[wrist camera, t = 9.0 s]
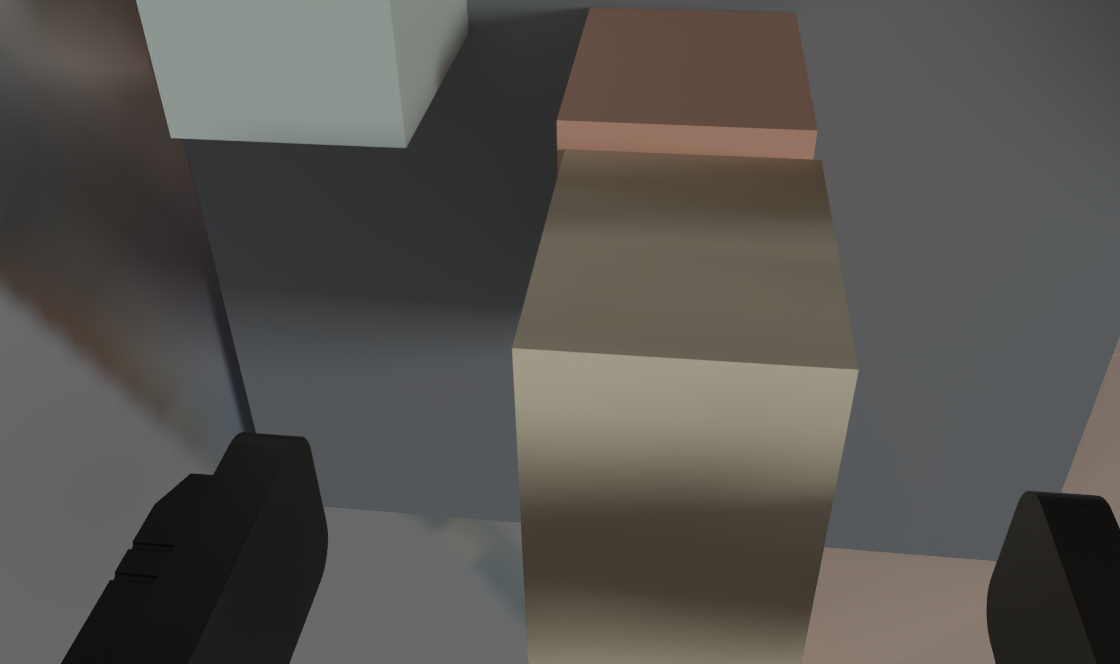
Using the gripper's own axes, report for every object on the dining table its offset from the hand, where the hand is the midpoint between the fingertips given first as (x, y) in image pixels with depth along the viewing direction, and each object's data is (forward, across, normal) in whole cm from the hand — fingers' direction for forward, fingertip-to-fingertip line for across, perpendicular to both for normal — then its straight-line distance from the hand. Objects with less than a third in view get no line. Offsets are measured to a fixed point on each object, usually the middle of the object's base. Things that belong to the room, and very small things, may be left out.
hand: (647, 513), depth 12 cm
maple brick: (+4, 0, +1) cm, 4 cm away
